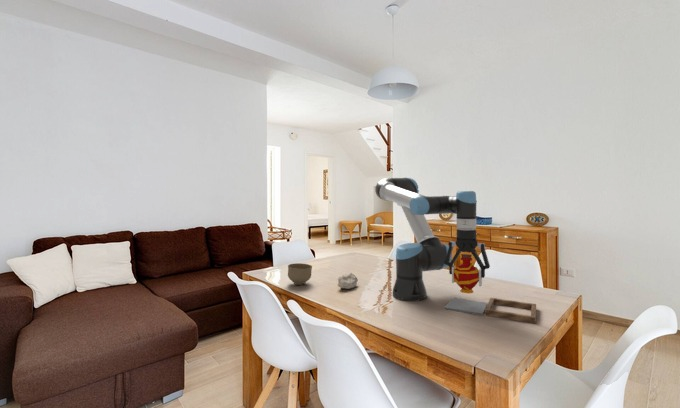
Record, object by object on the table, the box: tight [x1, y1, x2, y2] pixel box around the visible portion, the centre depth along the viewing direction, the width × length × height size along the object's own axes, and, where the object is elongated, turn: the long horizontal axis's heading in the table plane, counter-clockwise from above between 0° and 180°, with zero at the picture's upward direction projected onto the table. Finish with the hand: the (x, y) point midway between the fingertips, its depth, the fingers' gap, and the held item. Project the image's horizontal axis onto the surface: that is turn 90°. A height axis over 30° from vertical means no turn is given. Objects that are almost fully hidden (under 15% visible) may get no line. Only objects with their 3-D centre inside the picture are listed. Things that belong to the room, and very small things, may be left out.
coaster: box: [444, 297, 488, 316], centre depth 133 cm, size 14×14×1 cm
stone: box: [337, 272, 359, 290], centre depth 163 cm, size 8×12×10 cm, turn 151°
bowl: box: [287, 262, 313, 286], centre depth 170 cm, size 13×13×10 cm
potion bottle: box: [453, 253, 479, 294], centre depth 133 cm, size 10×10×15 cm
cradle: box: [484, 297, 537, 324], centre depth 126 cm, size 16×16×2 cm
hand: (466, 283), depth 133 cm, fingers closed on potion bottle, 10 cm apart
